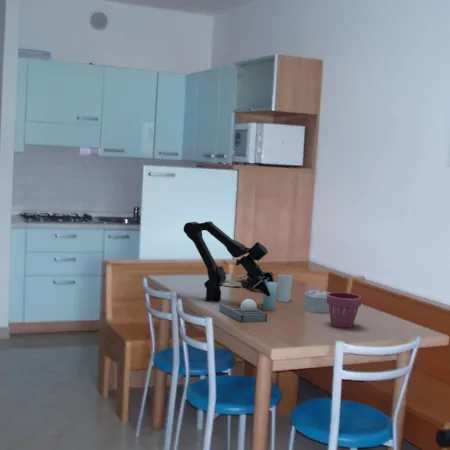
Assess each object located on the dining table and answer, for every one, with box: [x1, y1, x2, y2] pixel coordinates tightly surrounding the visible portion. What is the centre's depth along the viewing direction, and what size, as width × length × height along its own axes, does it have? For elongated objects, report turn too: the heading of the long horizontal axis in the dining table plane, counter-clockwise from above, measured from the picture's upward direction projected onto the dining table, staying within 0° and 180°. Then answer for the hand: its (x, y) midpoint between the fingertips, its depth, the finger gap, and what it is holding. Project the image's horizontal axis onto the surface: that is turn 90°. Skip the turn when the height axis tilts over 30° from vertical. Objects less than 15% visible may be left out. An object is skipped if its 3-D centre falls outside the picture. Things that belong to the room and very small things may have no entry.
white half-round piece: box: [239, 298, 258, 311], centre depth 297 cm, size 1×7×7 cm, turn 116°
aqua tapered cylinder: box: [262, 281, 278, 311], centre depth 315 cm, size 6×6×12 cm
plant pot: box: [327, 291, 362, 328], centre depth 293 cm, size 14×14×13 cm
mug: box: [276, 274, 293, 303], centre depth 338 cm, size 10×7×12 cm, turn 15°
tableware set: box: [222, 273, 278, 293], centre depth 369 cm, size 35×29×4 cm
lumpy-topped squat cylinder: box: [303, 289, 329, 314], centre depth 320 cm, size 10×13×9 cm
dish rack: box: [219, 303, 268, 323], centre depth 298 cm, size 21×12×3 cm, turn 25°
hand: (272, 294), depth 315 cm, fingers open, 8 cm apart
